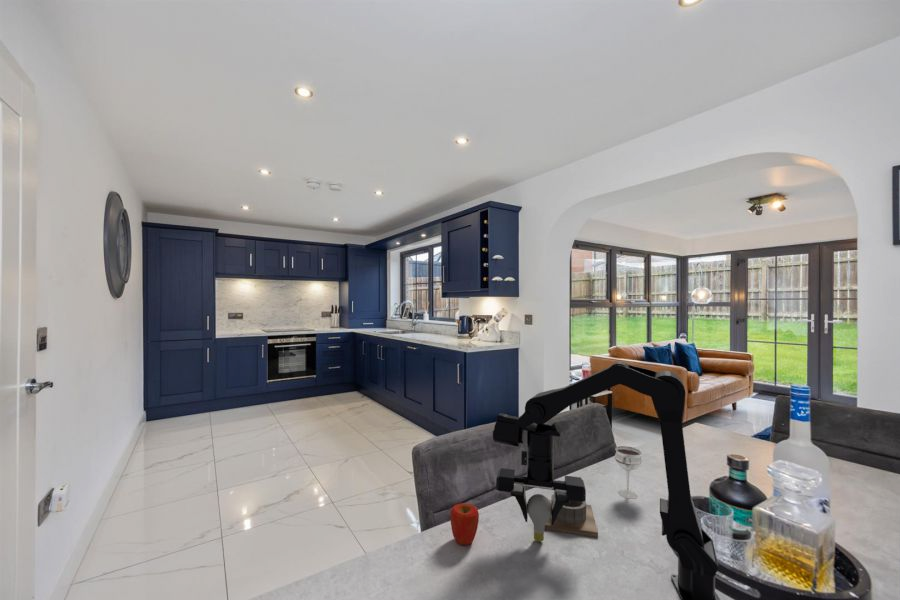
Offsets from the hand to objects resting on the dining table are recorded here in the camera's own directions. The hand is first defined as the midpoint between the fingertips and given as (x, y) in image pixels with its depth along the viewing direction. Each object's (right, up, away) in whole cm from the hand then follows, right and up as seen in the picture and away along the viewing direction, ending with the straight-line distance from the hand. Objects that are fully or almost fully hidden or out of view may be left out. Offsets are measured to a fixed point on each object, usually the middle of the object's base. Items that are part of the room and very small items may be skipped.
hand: (539, 522), depth 84 cm
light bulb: (0, -4, 0) cm, 4 cm away
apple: (-17, -4, 0) cm, 17 cm away
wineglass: (+30, -5, +22) cm, 37 cm away
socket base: (+9, -4, +9) cm, 14 cm away
